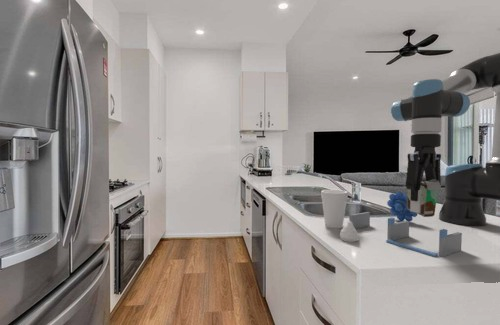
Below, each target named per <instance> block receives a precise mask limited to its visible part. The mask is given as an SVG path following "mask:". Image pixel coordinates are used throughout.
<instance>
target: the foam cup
mask: <svg viewBox="0 0 500 325" xmlns="http://www.w3.org/2000/svg"><path fill="white" fill-rule="evenodd" d="M348 193H349V192H348V191H347V190H341V189H323V190H321V196H320V197H321V202H322V211H323V212H322V213H323V218H324V219H323V220H324V226H325V227H328V228H332V229H340V228H343V227H344V220H345V216H346V215H345V213H346V206H347V200H348V195H349V194H348ZM342 226H343V227H342Z"/></svg>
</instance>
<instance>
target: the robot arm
mask: <svg viewBox="0 0 500 325" xmlns="http://www.w3.org/2000/svg"><path fill="white" fill-rule="evenodd" d="M483 88H484V89H485V88H491V90H492V91H493V93H496V99H495V112H494V124H493V136H492V148H491V158H490V159H488V160H487V161H486V162H485V167H484V166H483V164H482V163H467V164H466V163H465V164H453V165H452V164H451V165H449V166H447V167H446V169H445V175H444V201H443V203H442V205H441V208H440V211H439V212H438V219H439V220H441V221H443V222H447V223H451V224H456V225H462V226H473V227H474V226H476V227H477V226H486V224H487V217H486V215H485V211H484V209H483V207H482V199H487V200H494V201H500V52H498V53H494V54H491V55H486V56H483V57H480V58H478V59H475V60H473V61H471V62H469V63H468V64H466V65H463V66H462V67H460V68H458V69H456V70H455V71H453V72H452V73H451V74H450V75H449V77H446V78H445V79H442V80H441V79H438V78H436V79H435V78H429V79H422V80H419V81H417V82H415V83H414V84H413V85H412V93H411V96H410V97H408V98H406V99H400V100H396V101H394V102H393V104H392V105H391V107H390V114H391V117H392V118H393V120H395V121H397V122H407V121H411V124H410V127H411V130H410V131H411V133H412V134H411V135H410V147H412V148H414V151H413V153H408V154H407V167H406V168H407V170H406V178H405V188H406V190H407V189H411V200H410V211H411V212H417V213H421V198H422V190H420V186H421V182H422V178H426V181H430V180H432V179H435V180H438V181H439V183H440V186H441V184H442V183H441V182H442V180H441V175H442V174H441V158H442V154H441V153H437V152H436V148H440V147H441V142H442V141H441V138H442V135H441V134H440V133H441V132H442V117H443V118H444V117H449V118H452V117H455V118H457V117H460V116H463V115H464V114H466V112H467V111H468V110H469V108H470V106H471V101H470V97H469V96H468V95H467V94H466V93H469V92H471V91H474V90H479V89H480V90H481V89H483ZM424 176H425V177H424Z"/></svg>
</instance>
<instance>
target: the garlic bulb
mask: <svg viewBox="0 0 500 325" xmlns="http://www.w3.org/2000/svg"><path fill="white" fill-rule="evenodd" d="M339 236H340V238H341V239H340V240H342V241H343V240H344V242H347V241H348V242H350V243H351V242H352V243H354V242H357V241H358V240H359V234H358V231H357V228H354V226H353V223H352V222H351V221H349V220H347V221H346V223H345V224H344V225H343V227H342V229H341V230H340V233H339Z"/></svg>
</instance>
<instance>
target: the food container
mask: <svg viewBox="0 0 500 325" xmlns="http://www.w3.org/2000/svg"><path fill="white" fill-rule="evenodd" d="M441 189H442V187H441V185H440V183H439V181H438V180H435V179H432V180H430V181H426V177H423V178H422V182H421V186H420V190H422V198H421V213H417V212H415V213H417V215H419V216H421V217H423V218H431V217H434V216H435V213H436V207H437V200H438V193H439V192H438V191H439V190H441ZM406 194H407V209H408V210H410V200H411V189H407V188H406Z"/></svg>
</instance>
